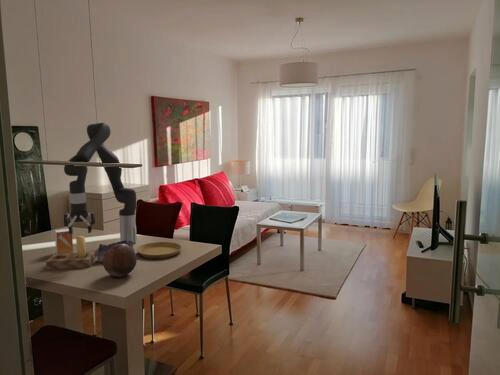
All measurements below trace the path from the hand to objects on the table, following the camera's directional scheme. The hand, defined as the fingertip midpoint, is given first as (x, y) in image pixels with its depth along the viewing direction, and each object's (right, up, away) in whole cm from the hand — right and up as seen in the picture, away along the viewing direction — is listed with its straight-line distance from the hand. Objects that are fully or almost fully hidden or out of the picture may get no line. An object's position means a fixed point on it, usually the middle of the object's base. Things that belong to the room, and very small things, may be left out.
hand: (80, 233), depth 199 cm
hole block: (-5, -16, +1) cm, 17 cm away
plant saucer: (+35, -14, +20) cm, 43 cm away
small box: (-18, -14, +20) cm, 30 cm away
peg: (0, -16, +2) cm, 16 cm away
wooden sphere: (+25, -18, -15) cm, 34 cm away
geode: (+14, -15, +12) cm, 24 cm away
